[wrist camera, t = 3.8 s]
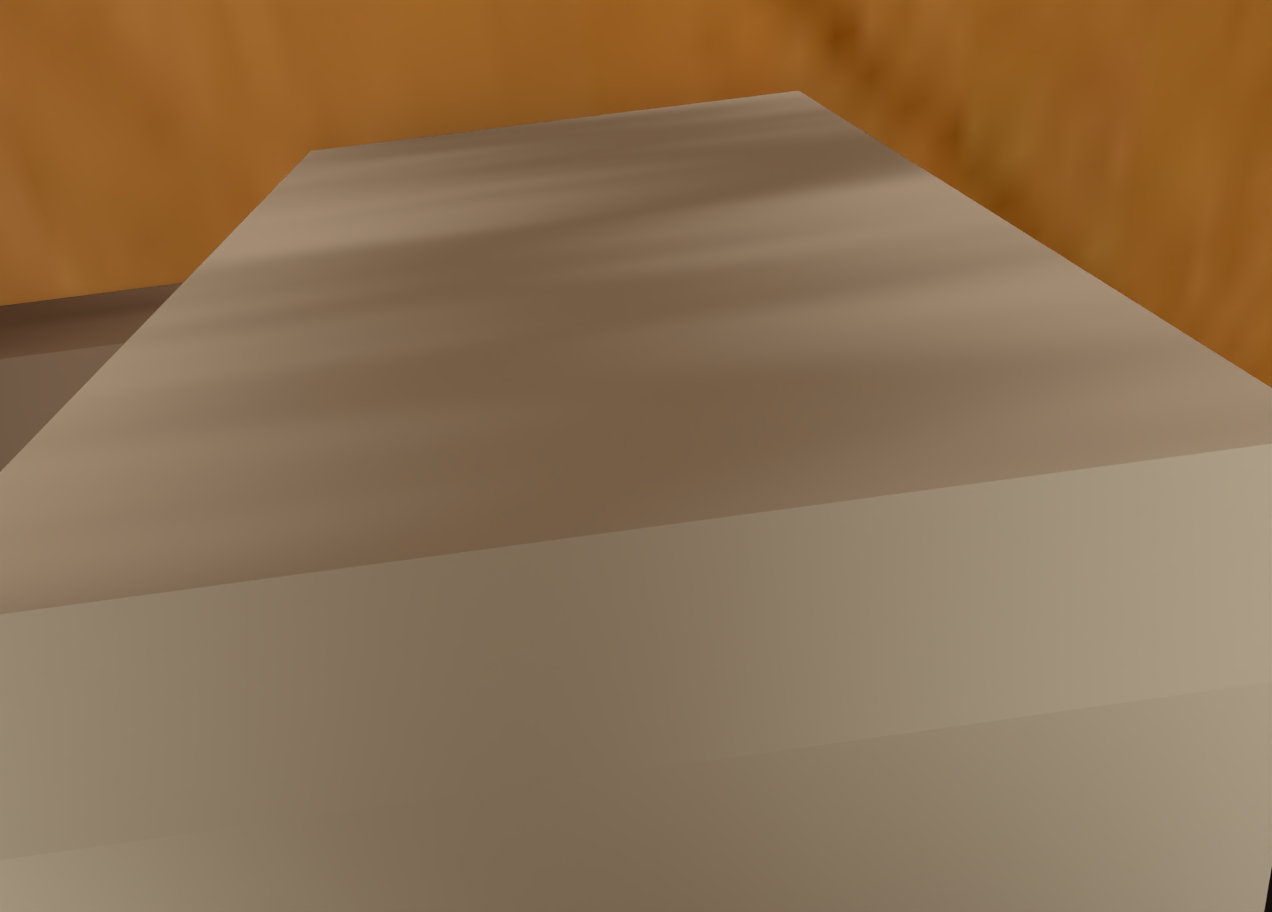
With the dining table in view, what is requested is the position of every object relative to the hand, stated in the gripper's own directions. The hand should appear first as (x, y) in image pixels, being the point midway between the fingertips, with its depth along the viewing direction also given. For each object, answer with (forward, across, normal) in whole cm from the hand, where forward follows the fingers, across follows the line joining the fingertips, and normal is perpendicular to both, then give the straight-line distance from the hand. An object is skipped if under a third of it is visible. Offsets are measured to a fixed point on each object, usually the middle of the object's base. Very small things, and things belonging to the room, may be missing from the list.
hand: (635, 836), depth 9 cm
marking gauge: (+5, 0, +1) cm, 5 cm away
